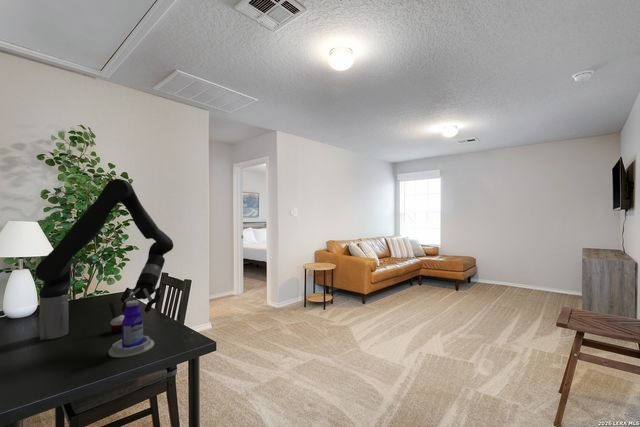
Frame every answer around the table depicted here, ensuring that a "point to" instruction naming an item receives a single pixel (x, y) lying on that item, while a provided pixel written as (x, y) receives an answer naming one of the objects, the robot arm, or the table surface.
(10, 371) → the table surface
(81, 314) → the table surface
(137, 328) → the bottle
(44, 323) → the robot arm
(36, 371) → the table surface
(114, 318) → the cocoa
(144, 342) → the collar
